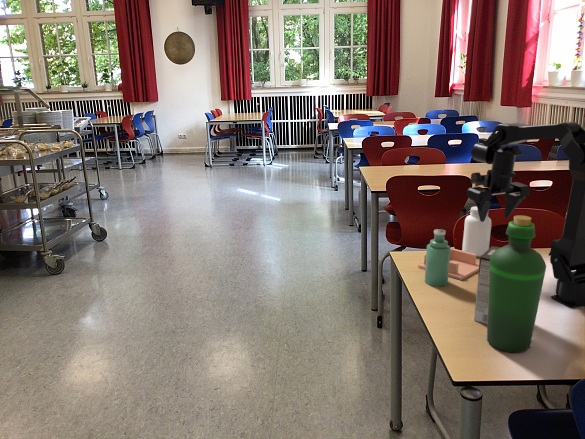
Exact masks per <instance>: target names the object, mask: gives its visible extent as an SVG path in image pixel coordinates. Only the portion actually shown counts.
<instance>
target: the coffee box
mask: <svg viewBox="0 0 585 439" xmlns="http://www.w3.org/2000/svg"><path fill="white" fill-rule="evenodd" d="M499 248H501V247H499V246H495V245H494V246H493V245H491V247H489V249H488V250H487V251H486V252H485V253H484V254H483V255H481V256H480V257H479V262H478V263H479V271H477V273H478V274H477V284H476V294H475V295H476V297H475V306H474V316H473V321H475V322H478V323H482V324H484V325H488V299H489V272H490V256H491V255H492V254H493V253H494V251H495V250H497V249H499Z"/></svg>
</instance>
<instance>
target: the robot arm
mask: <svg viewBox="0 0 585 439" xmlns="http://www.w3.org/2000/svg"><path fill="white" fill-rule="evenodd" d="M552 139H556V140H558V141H559V142H560V147H561V150H562V152H563V153H564V154H565V156H566V157H567V158H568V170H569V172H570V175H571V177H572V185H571V189H570V194H569V201H568V206H567V211H566V216H565V220H564V226H563V230H562V235H561V236H560V238H559V239H554V240H552V241H551V243H550V251H549V253H548V256H549V262H550V265H551V267H552V273H553V278H554V279H556V280H557V281H556V287H555V294H553V295H551V296H550V298H551V299H553V300H555V301H557V302H559V303H561V304H563V305H564V306H566V307H568V308H577V307H583V306H584V307H585V129H584V128H583V127H582V126H581V124H579V123H577V122H575V121H565V122H560V123H554V124H553V123H552V124H541V125H540V124H539V125H529V124H525V123H517V122H513V123H499V124H497V125H495V127H494V129H493V131H492V132H491V134H490V135H489V136H488V138H486V137H480V138H478V139H477V140H478V141H477V142H476V143H475V144H474V145H473V147H472V148H471V150H470V151H471V152H470V155H471V159H473V160H474V161H477V162H480V163H483V164H487V165H491V169H488V170H487V171H486V174H481V173H480V172H472V173H471V175H470V183H471V184H473V185H475V186H474V187H473V186H471V187H469V188H468V189H467V191H466V195H465V196H466V197H467V198H469V200H471V201H473V202H474V203H475V207H476V206H477V209H478V214H479V218H480V221H481V222H484V220H485V218H486V216H487V213H488V214H489V211H488V210H490V207H491V206H492V205H491V204H492V201H491V199H492V197H493V196H501V195H504V197H505V205H504V212H503V213H504V219H509V217H510V216H511V215H512V213H513V212H514V211H515V209H516V208H517V207H518V206H519V205H520V204H521V203H522V201H523V200H526V198H527V197H529V196H530V194H531V188H530V186H529V185H527V184H524V183H521V182H518V181H514V182H512V179H513V178H515V177H516V176H517V173H516V172H514V170H515V169H514V168H515V162H516V157H517V156H522V155H524V153H523V151H522V150H521V149H520V147H519V146H518V145H517V144H522V143H525V142H528V141H530V140H552ZM510 145H512V146H510ZM486 188H487V189H486Z"/></svg>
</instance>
